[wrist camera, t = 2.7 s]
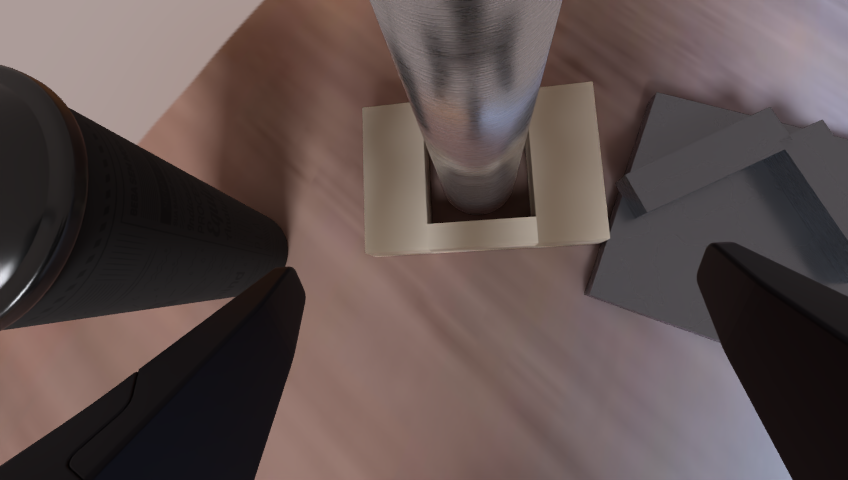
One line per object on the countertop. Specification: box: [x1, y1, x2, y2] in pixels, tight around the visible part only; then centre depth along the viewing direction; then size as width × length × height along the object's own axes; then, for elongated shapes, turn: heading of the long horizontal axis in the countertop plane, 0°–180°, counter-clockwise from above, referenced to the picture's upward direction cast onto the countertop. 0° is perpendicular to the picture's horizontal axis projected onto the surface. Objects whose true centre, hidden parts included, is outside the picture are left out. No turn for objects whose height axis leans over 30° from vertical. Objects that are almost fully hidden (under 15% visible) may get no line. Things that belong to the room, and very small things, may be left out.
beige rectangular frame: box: [362, 81, 610, 257], centre depth 21 cm, size 12×8×2 cm, turn 92°
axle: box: [370, 0, 562, 215], centre depth 14 cm, size 4×4×16 cm
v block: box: [585, 92, 848, 342], centre depth 19 cm, size 11×12×2 cm
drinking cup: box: [0, 65, 288, 331], centre depth 14 cm, size 8×8×20 cm
